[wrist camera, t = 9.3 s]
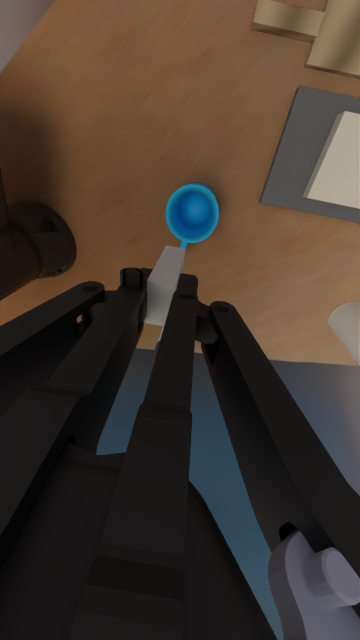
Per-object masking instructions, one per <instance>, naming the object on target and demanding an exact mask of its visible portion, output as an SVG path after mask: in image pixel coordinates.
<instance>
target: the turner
mask: <svg viewBox="0 0 360 640" xmlns="http://www.w3.org/2000/svg"><path fill="white" fill-rule="evenodd" d="M251 30H256V31H260V32H265V33H269V34H274V35H278V36H283V37H287V38H292V39H296V40H301V41H305V42H310V43H312V44H311V47H310V50H309V53H308V56H307V59H306V62H305V65H304V67H306V68H311V69H315V70H320V71H325V72H329V73H334V74H339V75H343V76H348V77H353V78H357V79H360V0H326V3H325V6H324V9H323V12H320V11H316V10H311V9H307V8H302V7H298V6H293V5H289V4H284V3H280V2H275V1H271V0H258V2H257V5H256V9H255V14H254V18H253V22H252V27H251Z"/></svg>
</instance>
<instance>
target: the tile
mask: <svg viewBox="0 0 360 640" xmlns="http://www.w3.org/2000/svg"><path fill="white" fill-rule="evenodd" d="M302 197H305V198H310V199H315V200H320V201H324V202H329V203H334V204H339V205H344V206H349V207H354V208H359V209H360V114H357V113H352V112H347V111H344V112H342V113H340V114H338V115H337V117H336V119H335V121H334V124H333V126H332V128H331V131H330V133H329V135H328V138H327V140H326V143H325V145H324V147H323V150H322V152H321V154H320V157H319V159H318V161H317V164H316V166H315V168H314V171H313V173H312V175H311V178H310V180H309V182H308V185H307V187H306V189H305V192H304V194H303V196H302Z"/></svg>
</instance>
